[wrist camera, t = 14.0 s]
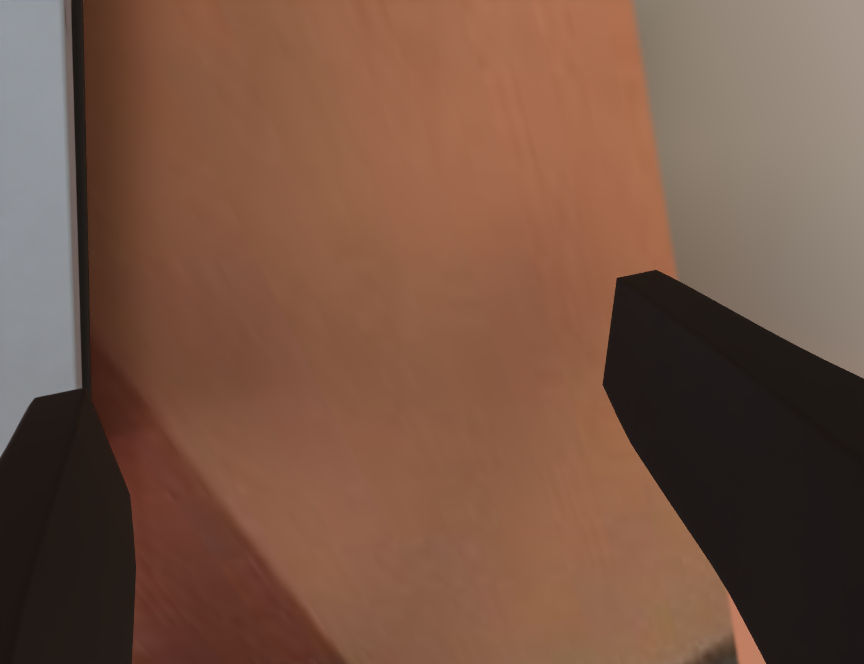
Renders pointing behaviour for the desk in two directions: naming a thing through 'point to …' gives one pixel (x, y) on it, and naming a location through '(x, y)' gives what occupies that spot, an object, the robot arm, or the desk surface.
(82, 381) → the stapler
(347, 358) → the desk surface
